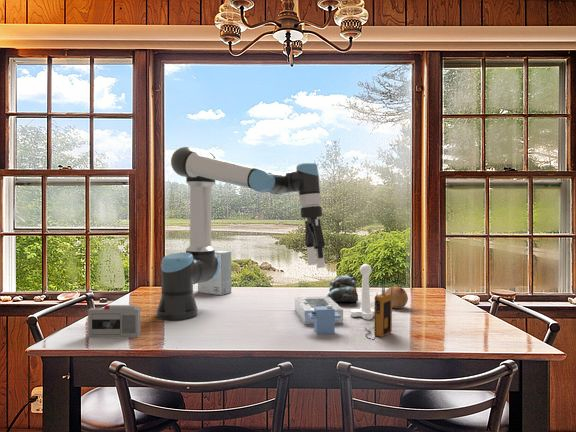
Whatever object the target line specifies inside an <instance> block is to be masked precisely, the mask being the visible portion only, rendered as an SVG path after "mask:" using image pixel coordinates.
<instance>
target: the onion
mask: <svg viewBox="0 0 576 432" xmlns="http://www.w3.org/2000/svg"><path fill="white" fill-rule="evenodd" d="M391 289H392V309H402V308H404V307H405V306H406V305H407V304H408V301H409V296H408V293H407V291H406V290H405V289H404V288H403V287H402V286H391V287H388V288H387V289H385V293H389V294H391Z"/></svg>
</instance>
